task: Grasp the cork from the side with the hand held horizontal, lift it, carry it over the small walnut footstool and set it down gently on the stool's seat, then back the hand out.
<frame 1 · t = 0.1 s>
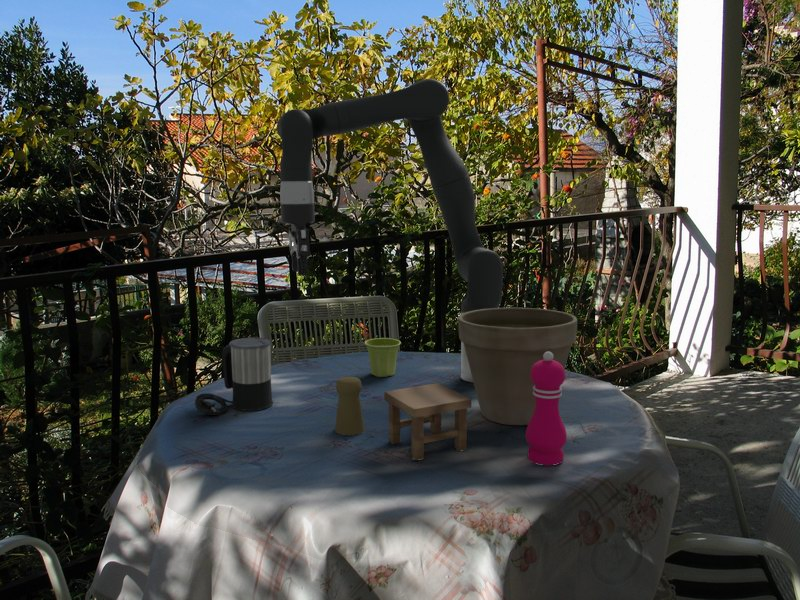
hand: (300, 273, 159), 29 cm above the table, tool pointing down, fingers open, 8 cm apart
cork: (349, 431, 141), on the table
plant pot: (514, 415, 150), on the table
pepper mill: (545, 460, 125), on the table
footstool: (427, 445, 132), on the table
milk frother: (235, 409, 155), on the table
plant pot 2: (383, 375, 182), on the table
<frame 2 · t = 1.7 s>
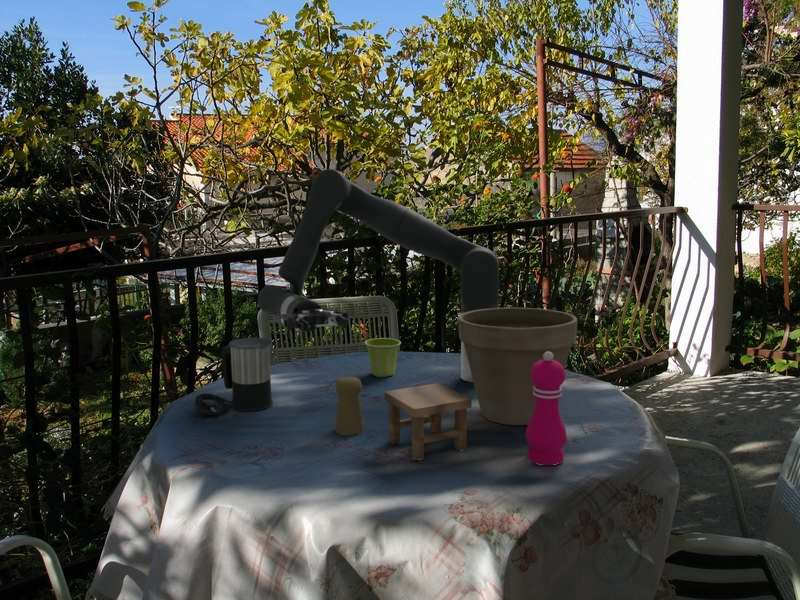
hand: (326, 325, 147), 20 cm above the table, tool horizontal, fingers open, 8 cm apart
nothing on the table moved.
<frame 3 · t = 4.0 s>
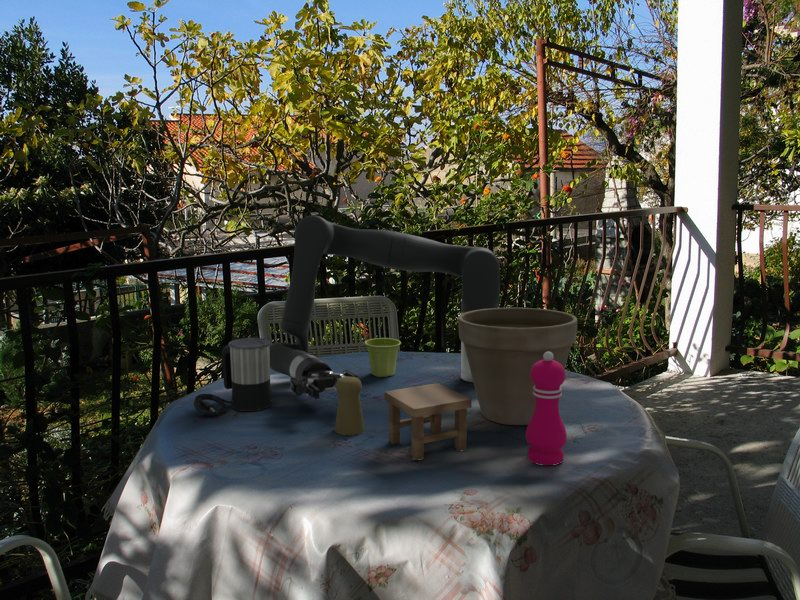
hand: (336, 391, 145), 7 cm above the table, tool horizontal, fingers open, 8 cm apart
nothing on the table moved.
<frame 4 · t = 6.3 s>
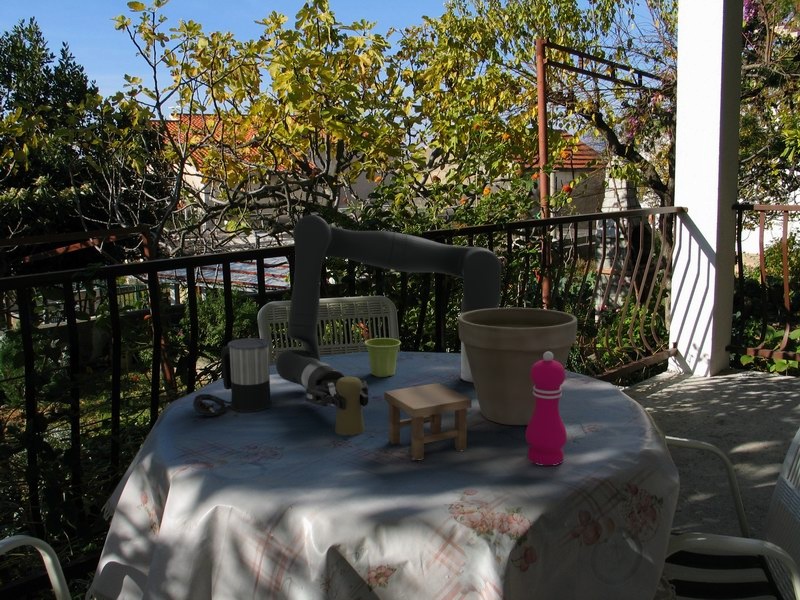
hand: (354, 403, 137), 7 cm above the table, tool horizontal, fingers closed on cork, 4 cm apart
cork: (349, 431, 141), on the table, touching gripper
everything else where it was.
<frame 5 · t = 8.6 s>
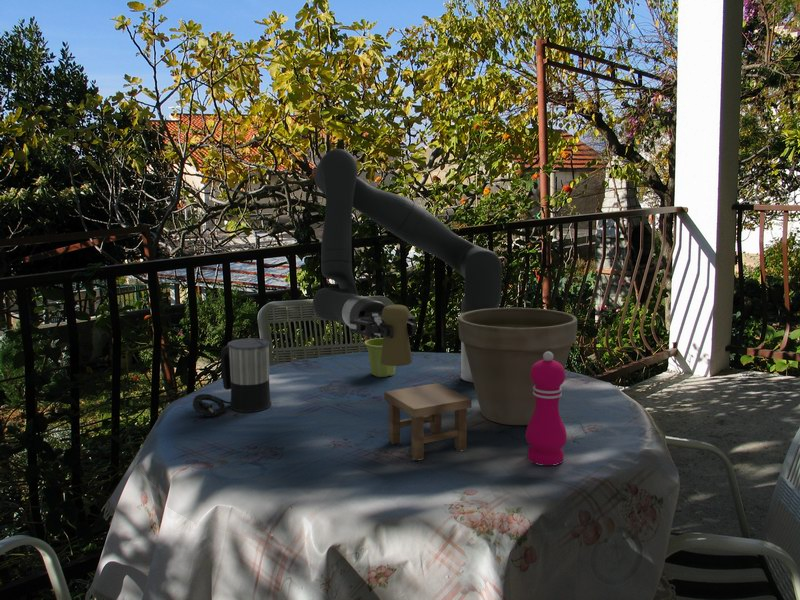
hand: (402, 331, 129), 22 cm above the table, tool horizontal, fingers closed on cork, 4 cm apart
cork: (396, 362, 133), point 15 cm above the table, touching gripper
everything else where it was.
when the fingers open (17 cm above the table, at t = 10.9 s): cork stays where it is, resting on footstool.
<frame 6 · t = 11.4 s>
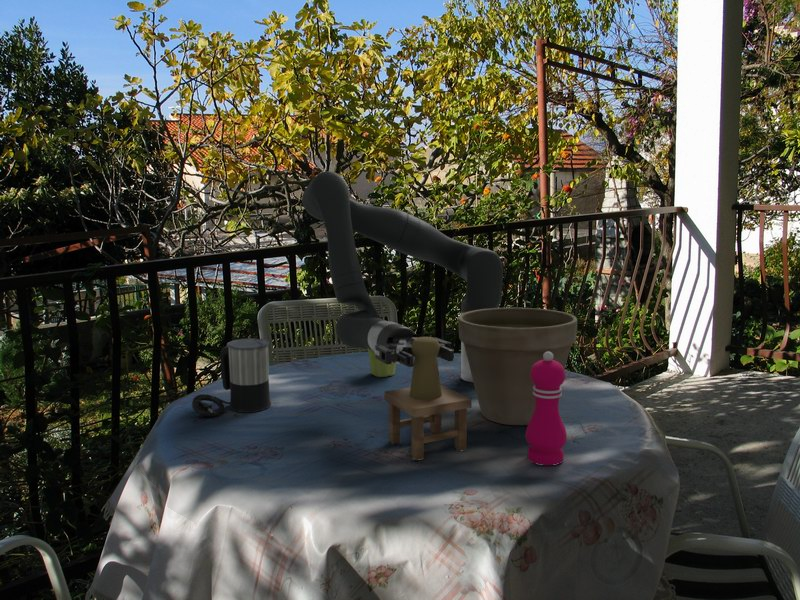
hand: (432, 358, 128), 17 cm above the table, tool horizontal, fingers open, 8 cm apart
cork: (425, 395, 131), point 10 cm above the table, touching footstool
everything else where it was.
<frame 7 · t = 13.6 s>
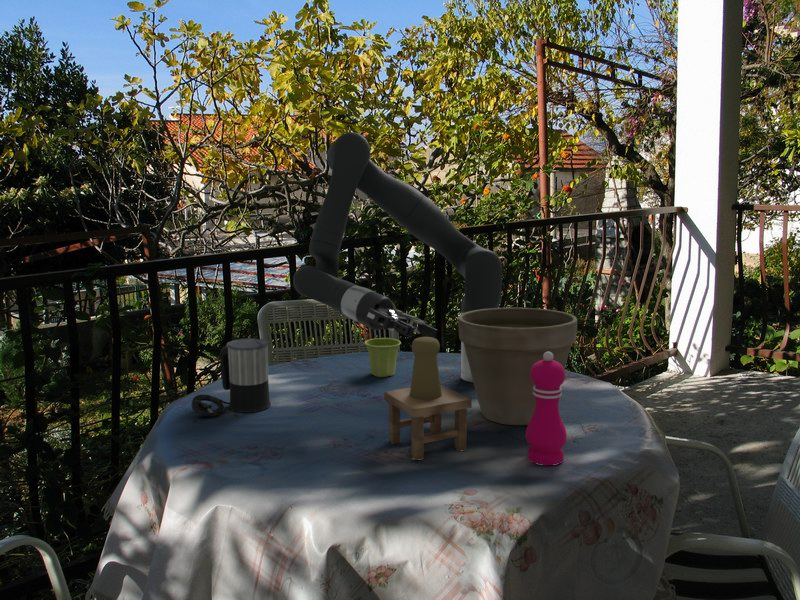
hand: (424, 333, 141), 19 cm above the table, tool horizontal, fingers open, 8 cm apart
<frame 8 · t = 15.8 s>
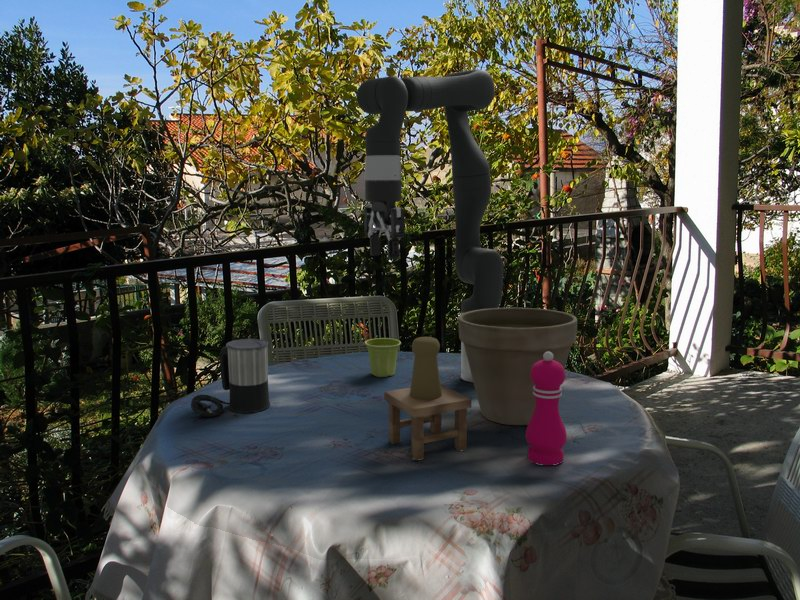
hand: (384, 256, 146), 34 cm above the table, tool pointing down, fingers open, 8 cm apart
at the end: cork inside the target area on the footstool (0.3 cm from its centre), point 9.8 cm above the footstool's base; cork tilted 0°; the gripper is holding nothing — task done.
